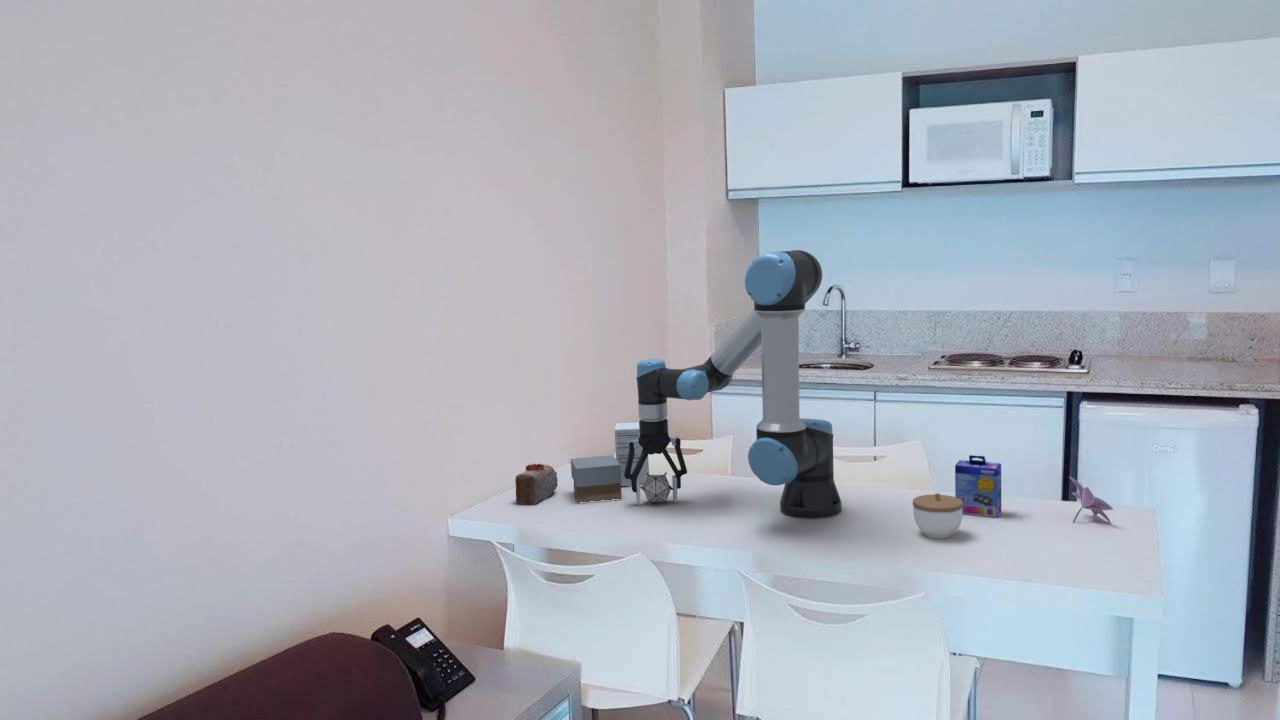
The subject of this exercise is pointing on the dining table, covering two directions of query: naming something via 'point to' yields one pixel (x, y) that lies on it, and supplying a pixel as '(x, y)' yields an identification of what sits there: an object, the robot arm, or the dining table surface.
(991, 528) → the dining table surface
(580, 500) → the tower base
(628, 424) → the supplement box
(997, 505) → the ink cartridge box
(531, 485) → the food item
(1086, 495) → the lily
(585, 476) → the tower top
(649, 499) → the game die
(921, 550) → the dining table surface
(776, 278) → the robot arm
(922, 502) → the lidded jar
